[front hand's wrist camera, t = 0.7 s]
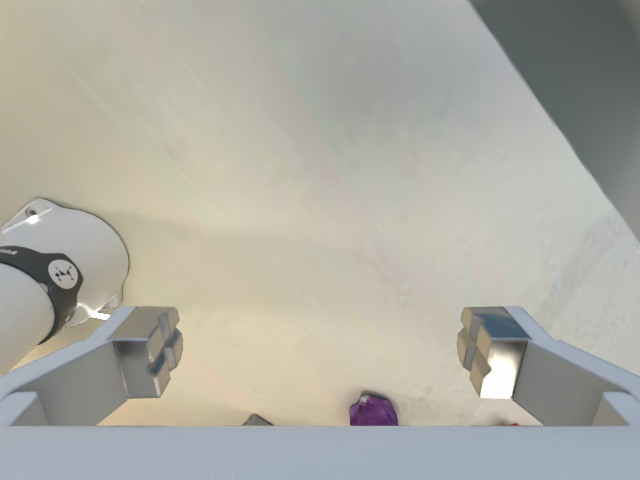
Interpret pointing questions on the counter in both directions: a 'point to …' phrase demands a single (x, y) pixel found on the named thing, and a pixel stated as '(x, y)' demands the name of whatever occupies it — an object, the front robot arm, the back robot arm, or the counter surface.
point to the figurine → (373, 412)
